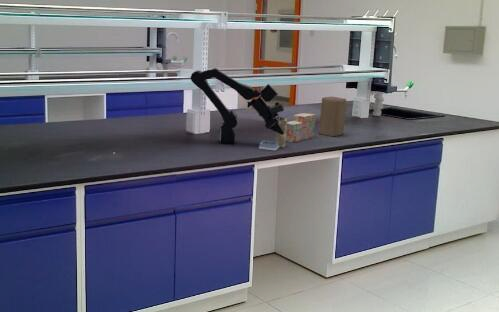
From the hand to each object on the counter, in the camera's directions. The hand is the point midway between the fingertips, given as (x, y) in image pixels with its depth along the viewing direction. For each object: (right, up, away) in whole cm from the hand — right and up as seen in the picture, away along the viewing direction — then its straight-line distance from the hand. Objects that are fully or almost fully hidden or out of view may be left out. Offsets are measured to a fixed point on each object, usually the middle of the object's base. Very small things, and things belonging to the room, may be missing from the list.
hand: (283, 132), depth 270 cm
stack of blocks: (+9, -2, +21) cm, 23 cm away
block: (+28, 0, +37) cm, 47 cm away
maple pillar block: (-1, -6, +2) cm, 7 cm away
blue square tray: (-7, -7, -3) cm, 10 cm away
